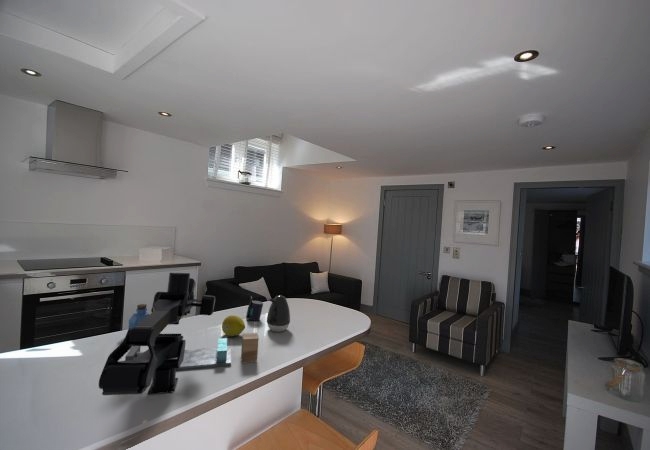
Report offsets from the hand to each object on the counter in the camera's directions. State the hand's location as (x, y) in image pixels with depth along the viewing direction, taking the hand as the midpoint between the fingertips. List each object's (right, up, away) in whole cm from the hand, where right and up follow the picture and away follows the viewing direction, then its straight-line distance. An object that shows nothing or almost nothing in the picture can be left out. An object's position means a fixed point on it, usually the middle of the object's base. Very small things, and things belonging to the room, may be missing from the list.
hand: (190, 301), depth 107 cm
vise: (+5, -17, -9) cm, 20 cm away
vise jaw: (-8, -15, -13) cm, 21 cm away
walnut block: (+22, -19, -5) cm, 29 cm away
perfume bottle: (-22, -16, +7) cm, 28 cm away
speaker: (+15, -18, +35) cm, 42 cm away
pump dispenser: (+28, -19, +23) cm, 41 cm away
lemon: (+11, -18, +14) cm, 25 cm away
